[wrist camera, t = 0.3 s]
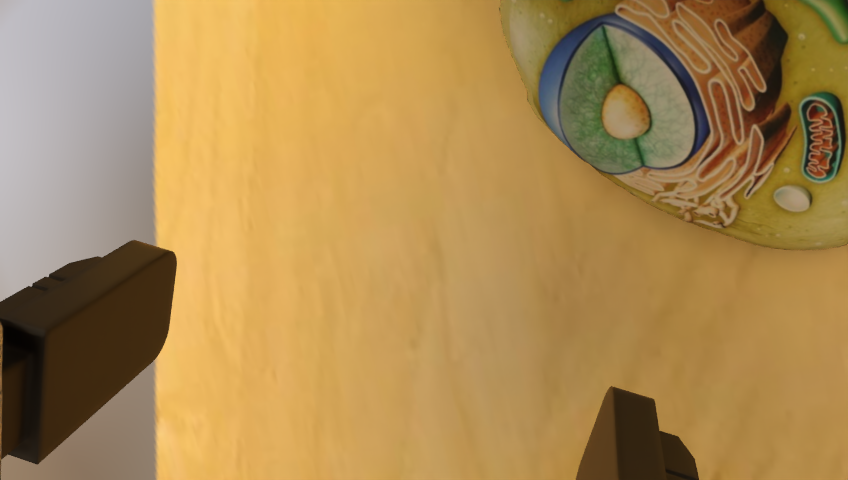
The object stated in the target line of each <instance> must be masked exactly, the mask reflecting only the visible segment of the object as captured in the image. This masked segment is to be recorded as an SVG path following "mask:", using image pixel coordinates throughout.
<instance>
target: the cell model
mask: <svg viewBox="0 0 848 480" xmlns="http://www.w3.org/2000/svg"><path fill="white" fill-rule="evenodd" d="M499 10H500V15H501V23H502V28H503V33H504V36H505V39H506V42H507V45H508V47H509V49H510V51H511V55H512V58H513V59H514V61H515V63H516V66H517V68H518V71H519V73H520V76H521V79H522V81H523V83H524V85H525V87H526V88H527V100H528V102H529V103H530V105H531V107H532V109H533V111H534V113H535V114H536V115H537V117H538V118H539V119H540V120H541V121H542V122H543V123H544V124H545V125H546V126H547V127H548V128H549V129H550V130H551V131H552V132H553V133H554V134H555V135H556V136H557V138H558V139H559V140H560V141H562V142H563V143H564V144H565V145H566V146H567V147H569V148H570V149H571V150H572V151H573V152H574V153H575V154H576V155H577V156H578V157H579V158H581V159H582V160H584V161H585V162H587V163H589V164H590V165H591V166H592V167H594V168H595V169H596V170H597V171H598V172H599V173H600V174H602V175H603V176H605V177H607V178H608V179H610V180H611V181H613V182H614V183H615V184H617V185H618V186H620V187H623V188H624V189H626V190H627V191H629V192H630V193H631V194H632V195H634V196H636V197H638V198H640V199H641V200H643V201H644V202H646V203H648V204H650V205H652V206H654V207H656V208H657V209H660V210H662V211H665V212H667V213H668V214H671V215H674V216H676V217H678V218H679V219H681V220H684V221H687V222H689V223H693V224H696V225H698V226H700V227H703V228H706V229H710V230H713V231H716V232H719V233H721V234H724V235H727V236H732V237H734V238H736V239H739V240H742V241H745V242H749V243H753V244H755V245H759V246H764V247H770V248H776V249H785V250H821V249H829V248H834V247H840V246H843V245H846V244H848V0H501V5H500V8H499Z"/></svg>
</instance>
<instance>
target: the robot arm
mask: <svg viewBox="0 0 848 480" xmlns="http://www.w3.org/2000/svg"><path fill="white" fill-rule="evenodd" d="M176 267H177V260H176V256H175V254H174V252H172V251H169V250H166V249H162V248H159V247H156V246H153V245H149V244H146V243H143V242H139V241H136V240H133V241H130V242H128V243H126V244H124V245H123V246H121V247H119V248H118V249H116V250H114V251H113V252H111V253H109V254H108V255H106V256H104V257H102V258H101V257H93V258H89V259H85V260H81V261H76V262H72V263H69V264H67V265H65V266H64V267H62V268H60V269H58V270H56V271H55V272H53V273H51V274H49V277H44V278H42V279H40V280H39V281H37V282H35V283H33V286H32V287H30V286H28V287H26V288H24V289H22V290H21V291H19V292H17V293H15V294H14V295H12V296H10V297H8V298H6V299H5V300H3V301H1V302H0V480H1V459H3V458H4V457H5V456H6V455H7V454H8V455H11V456H14V457H17V458H20V459H23V460H26V461H29V462H32V463H35V464H39V463H40V462H41V461H42V460H43V459H44V458H45V457H46V456H48V454H50V453H51V452H52V451H53V450H54V449H55V448H56V447H58V445H60V444H61V443H62V442H63V441H64V440H65V439H66V438H68V437H69V436H70V435H71V434H72V433H73V432H74V431H76V430H77V429H78V428H79V427H80V426H81V425H82V424H83V423H84V422H86V420H88V419H89V418H90V417H91V416H92V415H93V414H94V413H96V412H97V411H98V410H99V409H100V408H101V407H102V406H103V405H104V404H106V403H107V402H108V401H109V400H110V399H111V398H112V397H114V396H115V395H116V394H117V393H118V392H119V391H120V390H121V389H122V388H124V387H125V386H126V385H127V384H128V383H129V382H130V381H132V380H133V379H134V378H135V377H136V376H137V375H138V374H139V373H140V372H141V371H142V370H144V369H145V368H146V367H147V366H148V365H149V364H151V363H152V362H153V361H154V360H155V359H156V357H157V356H158V354H159V353H160V351H161V349H162V348H163V345H164V343H165V341H166V338H167V334H168V330H169V324H170V316H171V308H172V300H173V292H174V284H175V276H176ZM576 480H699V477H698V473H697V468H696V463H695V459H694V457H693V456H692V454H691V453H690V452H689V450H688V449H687V448H686V446H685V445H684V444H683V442H682V441H681V440H680V438H679V437H678V436H675V435H672V434H668V433H665V432H662V431H659V426H658V419H657V413H656V406H655V401H654V399H652V398H649V397H645V396H642V395H639V394H636V393H632V392H629V391H626V390H622V389H619V388H616V387H613V386H611V387H610V388H609V389H608V391H607V393H606V395H605V397H604V400H603V403H602V405H601V408H600V411H599V413H598V416H597V419H596V422H595V424H594V427H593V430H592V432H591V435H590V438H589V441H588V443H587V446H586V449H585V451H584V454H583V457H582V460H581V463H580V466H579V469H578V473H577V477H576Z"/></svg>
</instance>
